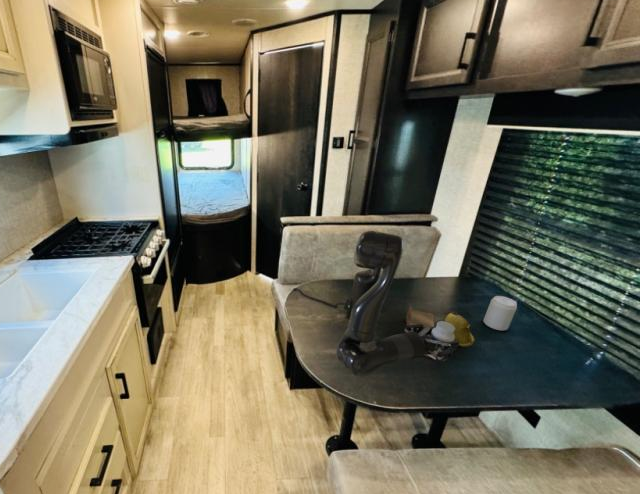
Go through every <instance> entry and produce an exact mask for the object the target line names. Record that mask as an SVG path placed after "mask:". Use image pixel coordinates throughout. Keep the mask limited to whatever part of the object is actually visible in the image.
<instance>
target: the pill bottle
mask: <svg viewBox="0 0 640 494" xmlns="http://www.w3.org/2000/svg"><path fill="white" fill-rule="evenodd" d="M434 327H435V328H433V330H432V332H431V335H430V338H431V339H433V340H436V341H441V342H442V343H449V342H453V341H454V339H455V336H454V334H453V333H454V331H455V327H454V326H453V325H452V324H450V323H448V322H446V321H445V320H440V321H437V323H436V326H434ZM436 347H437V345H436V346H435V348H436ZM442 348H445V347H442ZM428 355H429V354H428ZM429 356H430V357H431V358H432V359H433V360H435V361H436V357H435V356H433V355H429ZM430 357H429V358H430ZM444 361H447V359H445V360H443V361H442V362H444Z"/></svg>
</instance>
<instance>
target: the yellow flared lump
mask: <svg viewBox="0 0 640 494" xmlns="http://www.w3.org/2000/svg"><path fill="white" fill-rule="evenodd" d="M444 321H445V322H448V323H450V324H452V325H453V326H454V327H455V331H454V333H453V334H454V336H455V339H454V341H458V342H459V346H458V347H464V348H468V347H471V346H473V345H474V344H475V342H476V339H475V337H474V336H473V335H472V333H471V331H470V327H471V324H470V323H469V322H468V320H466V319H465V318H464V316H461V315H460V314H459V313H458V312H457V311H451V312H450V313H448V314H447V316H446V317H445V318H444Z"/></svg>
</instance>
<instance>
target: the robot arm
mask: <svg viewBox="0 0 640 494" xmlns="http://www.w3.org/2000/svg"><path fill="white" fill-rule="evenodd" d="M403 250H404V240H403V237H402V236H400V235H397V234H392V233H386V232H381V231H380V232H379V231H374V230H365V231H363V232H362V233H361V234H360V236H359V237H358V239H357V241H356V244H355V251H354V253H353V262H354V265H355V266H356V267H358V268H361V269H367V270H361V271H358V272H356V273H355V275H354V277H353V282H352V290H351V295H350V298H346V300H345V302H337V303H336V304H331V303H329V302H326V301H325V300H321V299H320V298H319V299H318V298H316V297H312V296H310V295H307V294H305V293H304V292H303V291H302V290H300V289H299V288H297V287H294V288H292V290H293V291H298V292H299V293H300V294H301V295H302V296H304V297H306V298H308V299H310V300H314V301H317V302H320V303H322V304H325V305H326V306H329V307H333V308H337V307H338V306H340V305H341V306H342V305H343V306H344V307H343V310H344V311H347V315H346V318H347V319H349V320H348V325H347V328H346V330H345V332H344V334H343V335H342V337H341V339H340V340H339V342H338V345H337V347H336V358H337V359H338V361H339V362H340V363H341V364H342V366H343V367H345V368H346V369H347V370H348V371H349V372H350V374H352V375H354V376H357V377H366V376H369V375H371V374H372V373H374V372H375V371H377V370H378V369H380V368H381V367H383V366H385V365H390V364H394V363H402V362H406V361H410V360H411V361H412V360H415V359H418V358H422V357H423V356H424V355H425V354H429V355H433V356H435V357H436V360H435V361H436V362H438V363H440V362H444V361H446V360H448V359H451V358H452V357H453V354H454V352H455V350H458V349H459V347H460V346H459V342H458V341H453V342H449V343H442V342H441V341H436V340H433V339H431V338H430V337H429V336H428V335H431V332H432V330H433V328H435V327H436V326H434V327H431V328H428V327H423V326H424V325H422V324H416V325H407V324H406V325H405V327H404V329H403V330H404V331H403V332H402V333H397V334H392V335H390V336H387V337H384V338H379V339H375V340H373V339H374V337H375V333H376V330H377V326H378V321H379V318H380V315H381V311H382V309H383V308H382V307H383V305H384V303H385V300H386V299H387V296H388V294H389V291H390V289H391V286H392V283H393V281H394V278H395V276H396V273H397V270H398V268H399V265H400V262H401V259H402V255H403V252H404V251H403ZM417 328H418V329H417ZM361 343H362V344H367V346H366V351H365V349H363V348H362V347H360V345H361ZM436 345H437V347H436V348H435V346H436ZM442 347H445V348H442ZM424 357H425V356H424ZM445 359H446V360H445ZM443 360H444V361H443Z"/></svg>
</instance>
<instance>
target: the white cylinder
mask: <svg viewBox="0 0 640 494" xmlns="http://www.w3.org/2000/svg"><path fill="white" fill-rule="evenodd" d="M517 305H518V304H517V302H516V301H515V300H514V299H512V298H510V297H507V296H503V295H495V296H494V297H493V298H491V299H490V303H489V305H488V308H487V310H486V313H485V315H484V318H483V323H484V324H485V325H486V326H487V327H489V328H491V329H493V330H497V331H502V332H503V331H508V329H509V327H510V325H511V323H512V320H513V319H514V316H515V314H516V312H517V309H518V306H517Z"/></svg>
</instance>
